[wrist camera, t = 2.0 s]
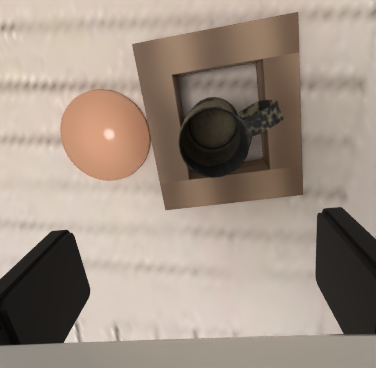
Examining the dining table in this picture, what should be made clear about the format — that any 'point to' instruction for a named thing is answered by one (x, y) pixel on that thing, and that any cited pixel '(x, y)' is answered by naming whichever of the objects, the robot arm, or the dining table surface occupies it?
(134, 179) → the dining table surface
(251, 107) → the mug
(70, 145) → the peach smooth round part
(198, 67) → the frame
